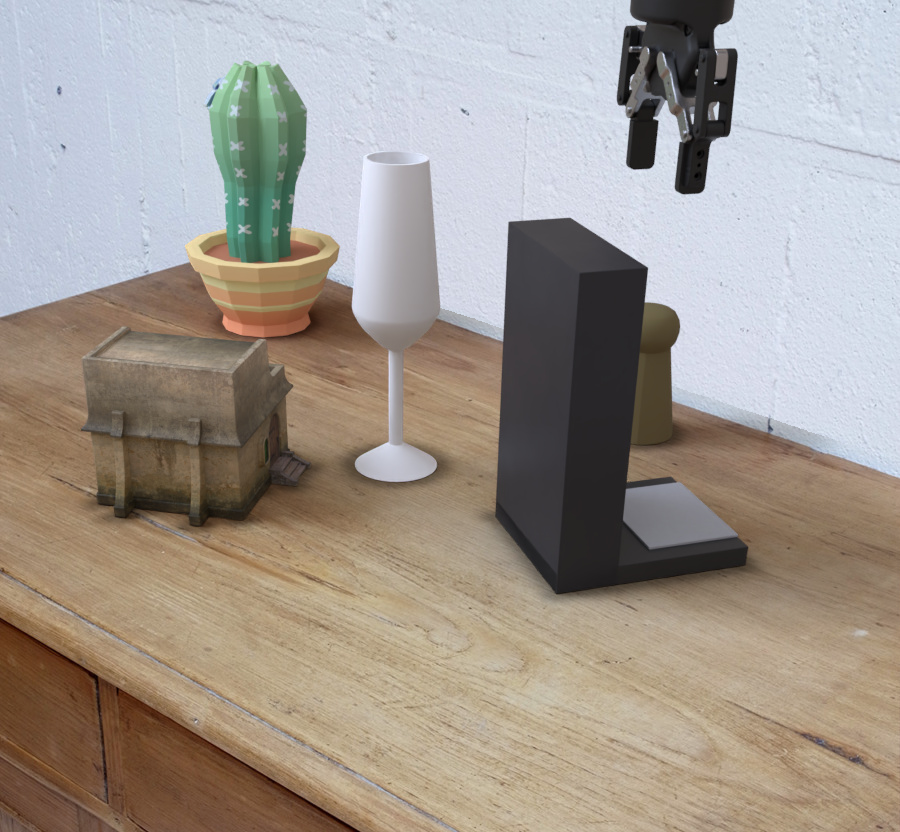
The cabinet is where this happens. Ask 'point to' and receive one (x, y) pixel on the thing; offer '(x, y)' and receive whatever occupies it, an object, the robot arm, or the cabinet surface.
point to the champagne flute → (396, 288)
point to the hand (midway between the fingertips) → (663, 180)
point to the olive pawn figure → (655, 376)
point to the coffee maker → (586, 422)
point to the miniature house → (187, 424)
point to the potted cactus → (260, 207)
